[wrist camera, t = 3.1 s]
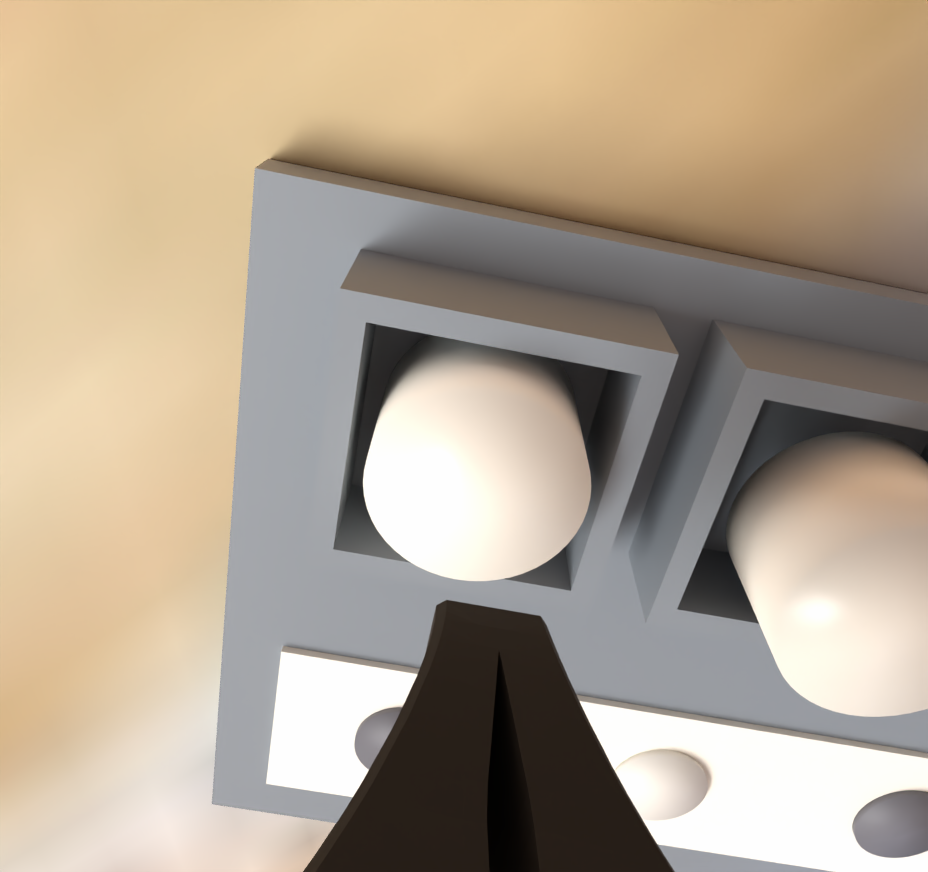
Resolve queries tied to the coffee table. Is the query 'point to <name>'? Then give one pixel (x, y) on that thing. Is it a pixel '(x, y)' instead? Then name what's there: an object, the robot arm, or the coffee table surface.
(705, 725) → the console
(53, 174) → the coffee table surface
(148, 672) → the coffee table surface
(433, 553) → the button
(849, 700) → the button middle
